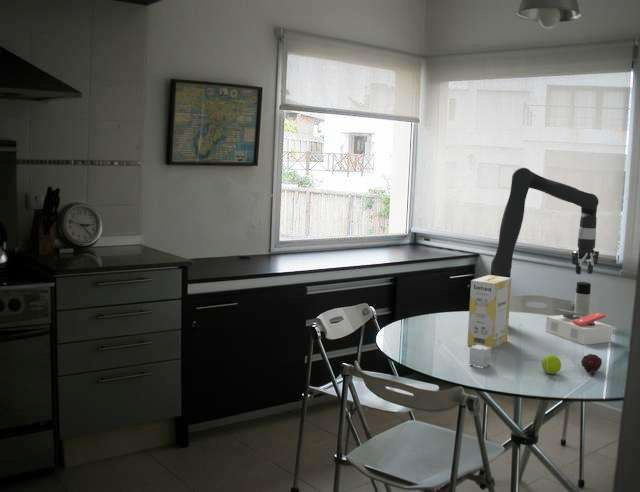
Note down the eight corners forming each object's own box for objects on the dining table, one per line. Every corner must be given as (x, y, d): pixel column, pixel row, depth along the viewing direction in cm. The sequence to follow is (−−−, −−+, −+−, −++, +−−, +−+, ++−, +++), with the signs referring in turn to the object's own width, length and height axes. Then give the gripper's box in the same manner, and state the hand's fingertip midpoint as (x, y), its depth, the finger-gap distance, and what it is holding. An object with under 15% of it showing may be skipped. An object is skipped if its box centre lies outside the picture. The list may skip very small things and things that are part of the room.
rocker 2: (581, 326, 315) (581, 323, 315) (572, 323, 320) (572, 320, 320) (605, 317, 320) (605, 314, 320) (596, 315, 325) (596, 312, 325)
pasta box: (490, 349, 301) (494, 283, 297) (467, 345, 307) (471, 280, 303) (507, 341, 315) (511, 277, 312) (484, 336, 322) (488, 274, 318)
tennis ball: (556, 370, 275) (558, 352, 274) (563, 376, 268) (564, 358, 267) (538, 370, 274) (539, 352, 273) (544, 376, 267) (546, 358, 266)
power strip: (583, 344, 313) (584, 326, 312) (545, 331, 334) (546, 313, 333) (611, 341, 319) (612, 323, 318) (572, 328, 341) (573, 311, 340)
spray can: (585, 321, 355) (589, 281, 353) (589, 325, 349) (592, 284, 346) (571, 321, 356) (575, 281, 353) (575, 324, 349) (578, 283, 347)
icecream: (580, 348, 283) (579, 362, 269) (600, 346, 280) (600, 360, 266) (583, 365, 284) (582, 379, 270) (603, 363, 281) (603, 377, 267)
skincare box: (476, 362, 283) (477, 344, 282) (490, 365, 279) (491, 347, 278) (468, 365, 278) (469, 347, 277) (483, 369, 274) (484, 350, 273)
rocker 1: (561, 313, 326) (562, 310, 326) (553, 311, 331) (554, 307, 331) (584, 317, 332) (584, 314, 332) (576, 315, 337) (576, 312, 337)
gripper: (592, 236, 334) (589, 271, 337) (568, 236, 329) (565, 273, 331) (605, 238, 327) (602, 274, 330) (580, 239, 322) (577, 276, 324)
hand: (583, 273), depth 330 cm, fingers open, 6 cm apart
